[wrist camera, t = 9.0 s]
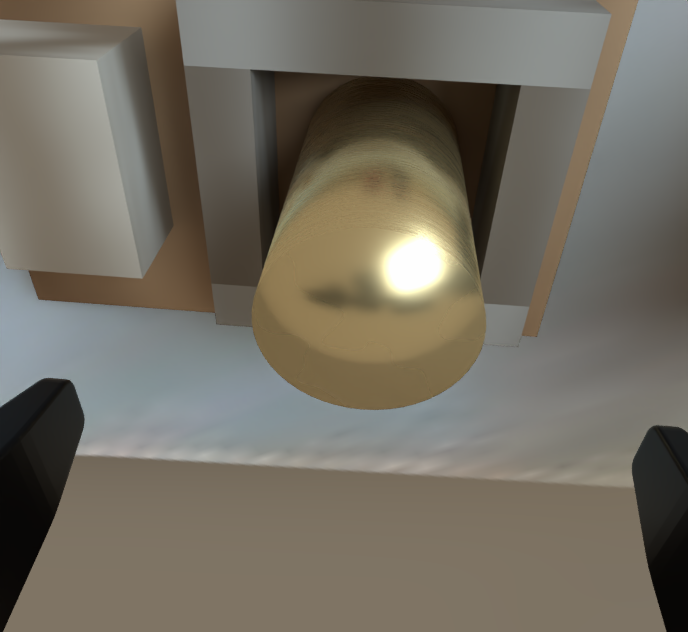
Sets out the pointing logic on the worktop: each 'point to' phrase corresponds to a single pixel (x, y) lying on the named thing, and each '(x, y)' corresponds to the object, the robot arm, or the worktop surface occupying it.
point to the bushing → (373, 254)
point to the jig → (280, 135)
